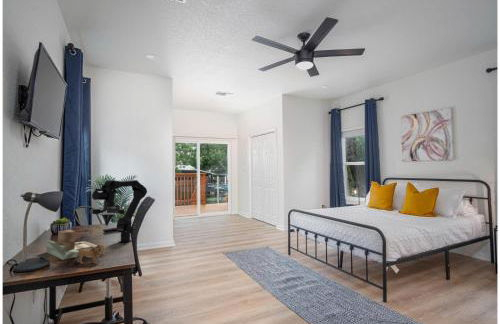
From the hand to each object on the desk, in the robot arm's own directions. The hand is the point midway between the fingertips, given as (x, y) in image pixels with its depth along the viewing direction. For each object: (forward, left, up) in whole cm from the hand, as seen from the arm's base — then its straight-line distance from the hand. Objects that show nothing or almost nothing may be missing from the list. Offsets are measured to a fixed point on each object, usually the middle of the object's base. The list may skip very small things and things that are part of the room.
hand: (106, 225), depth 180 cm
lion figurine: (+28, +10, -13) cm, 33 cm away
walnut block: (+17, -13, -11) cm, 24 cm away
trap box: (+13, -11, -13) cm, 21 cm away
